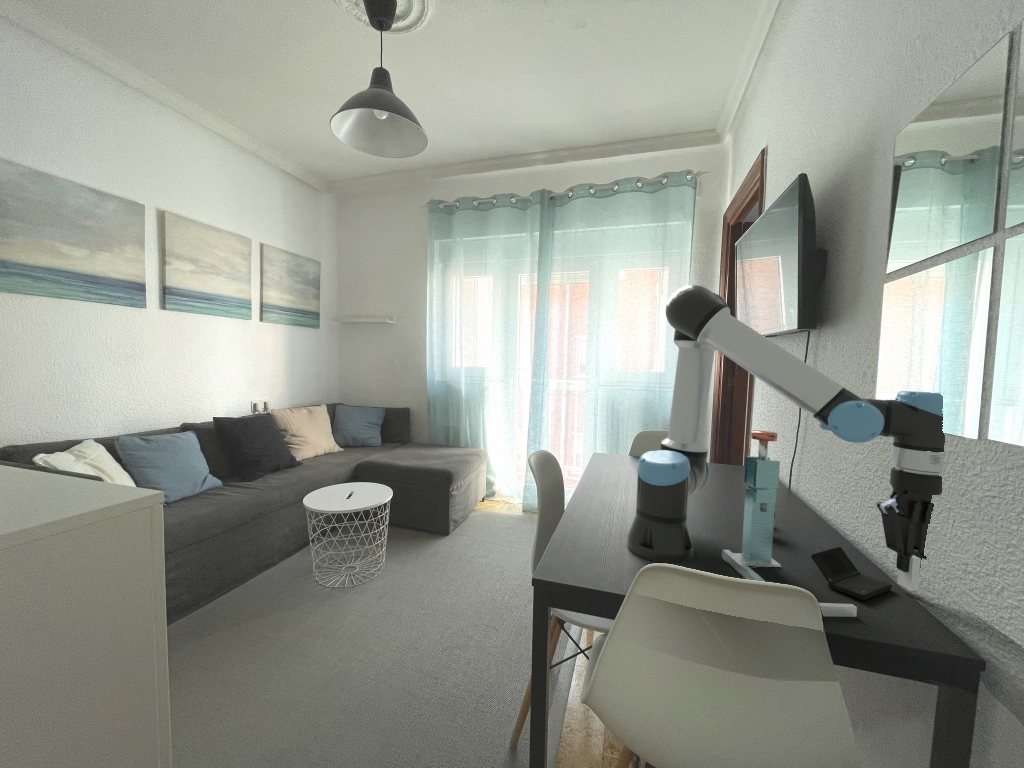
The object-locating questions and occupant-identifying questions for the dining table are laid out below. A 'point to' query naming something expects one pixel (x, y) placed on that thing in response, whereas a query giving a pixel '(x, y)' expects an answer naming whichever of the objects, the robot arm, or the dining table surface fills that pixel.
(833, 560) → the handheld gaming console
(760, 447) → the plunger
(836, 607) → the frame
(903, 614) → the dining table surface
